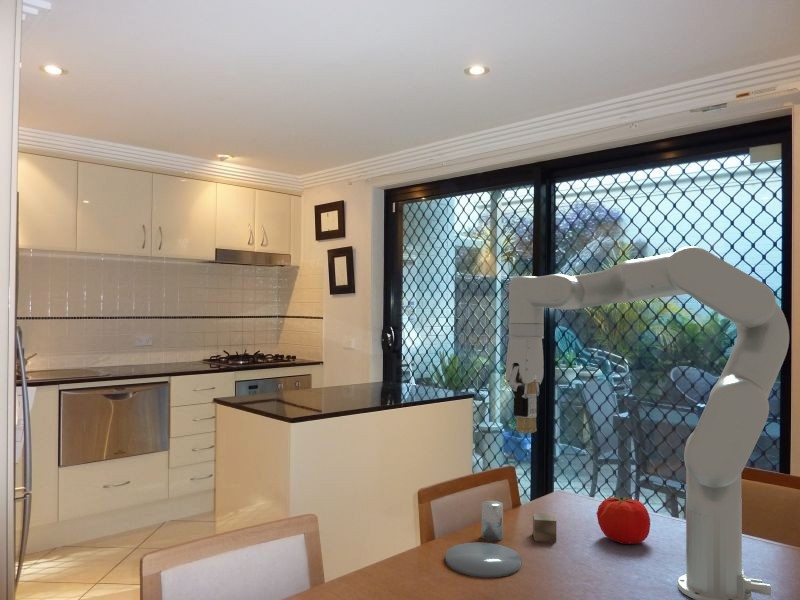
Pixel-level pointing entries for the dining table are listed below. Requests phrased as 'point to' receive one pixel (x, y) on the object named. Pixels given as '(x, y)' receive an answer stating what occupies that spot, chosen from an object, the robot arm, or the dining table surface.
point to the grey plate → (483, 559)
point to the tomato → (624, 520)
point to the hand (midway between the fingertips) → (526, 413)
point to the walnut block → (544, 527)
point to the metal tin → (492, 520)
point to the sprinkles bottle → (528, 422)
